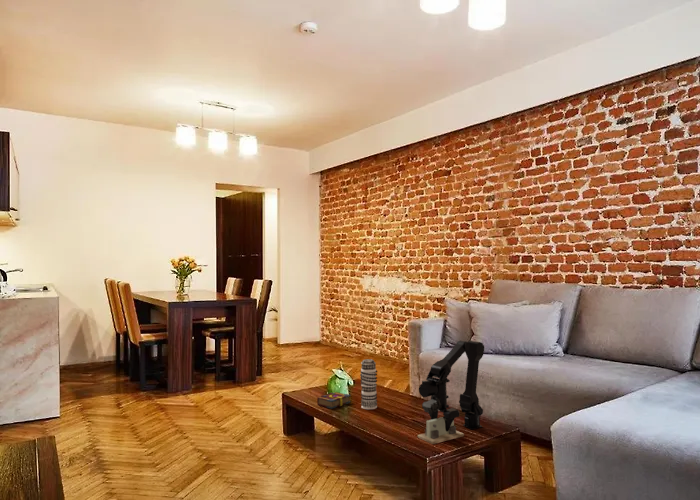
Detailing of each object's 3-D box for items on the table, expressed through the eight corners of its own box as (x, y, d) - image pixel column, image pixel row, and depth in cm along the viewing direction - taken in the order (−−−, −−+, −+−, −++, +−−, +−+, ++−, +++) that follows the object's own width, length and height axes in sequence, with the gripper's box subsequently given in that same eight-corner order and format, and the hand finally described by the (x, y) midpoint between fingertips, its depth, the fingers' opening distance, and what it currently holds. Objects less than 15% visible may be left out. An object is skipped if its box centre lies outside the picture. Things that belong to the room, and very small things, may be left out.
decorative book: (316, 405, 274) (316, 396, 274) (337, 399, 286) (337, 390, 286) (331, 409, 267) (331, 400, 267) (352, 402, 279) (351, 393, 279)
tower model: (378, 409, 264) (377, 361, 265) (360, 409, 264) (359, 361, 265) (377, 404, 273) (376, 358, 274) (360, 404, 274) (359, 358, 274)
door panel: (450, 430, 227) (450, 415, 227) (455, 432, 224) (455, 416, 225) (426, 436, 220) (426, 420, 220) (431, 438, 217) (430, 422, 217)
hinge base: (448, 429, 232) (448, 420, 232) (463, 436, 223) (463, 426, 223) (417, 437, 222) (417, 428, 222) (432, 444, 214) (432, 434, 214)
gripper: (412, 391, 227) (413, 426, 227) (440, 401, 211) (440, 438, 211) (431, 387, 233) (432, 421, 232) (459, 396, 217) (460, 433, 216)
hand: (440, 428), depth 223 cm, fingers open, 8 cm apart
